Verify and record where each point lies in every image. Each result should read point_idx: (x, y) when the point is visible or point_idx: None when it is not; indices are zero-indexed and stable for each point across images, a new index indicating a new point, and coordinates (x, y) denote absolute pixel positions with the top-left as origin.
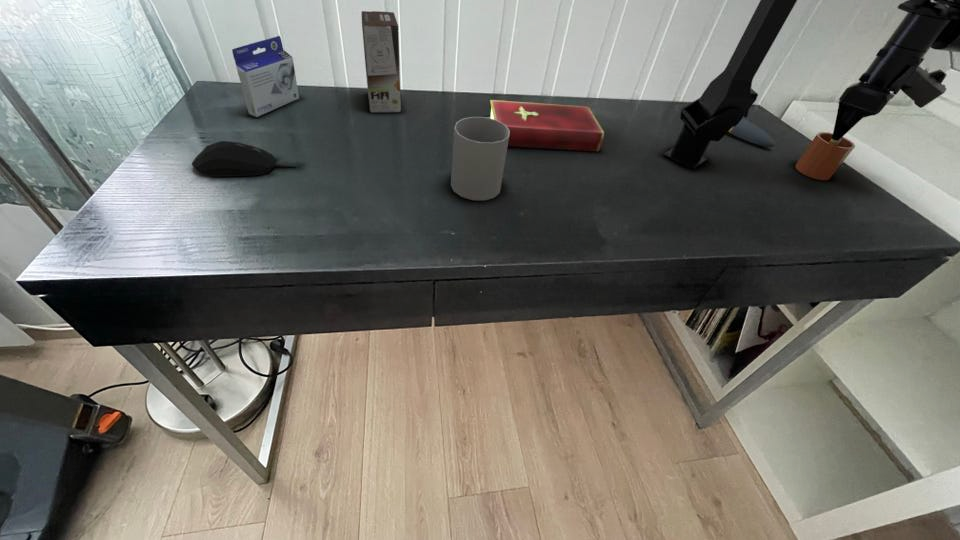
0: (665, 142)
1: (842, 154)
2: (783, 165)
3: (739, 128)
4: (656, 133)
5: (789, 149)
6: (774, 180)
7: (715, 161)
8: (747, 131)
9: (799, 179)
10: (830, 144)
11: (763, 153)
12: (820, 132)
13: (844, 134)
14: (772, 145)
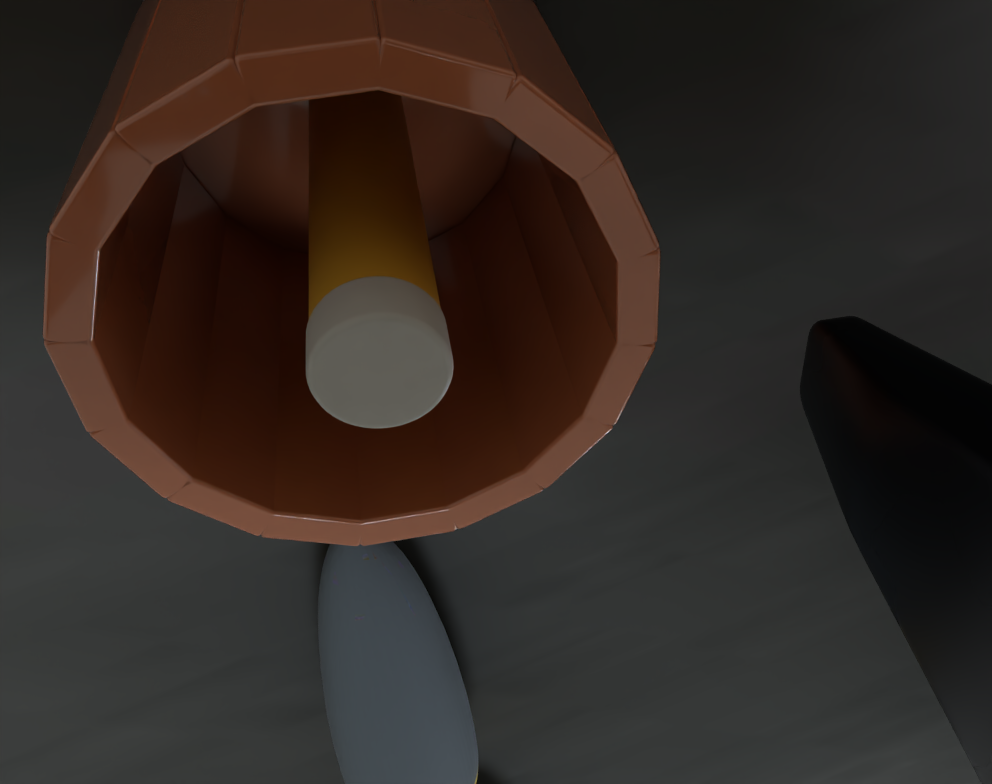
0: None
1: (531, 53)
2: None
3: (475, 742)
4: (879, 776)
5: (91, 441)
6: (953, 197)
7: None
8: (460, 707)
9: (707, 80)
10: (657, 308)
11: None
12: (329, 542)
13: (985, 382)
14: None
